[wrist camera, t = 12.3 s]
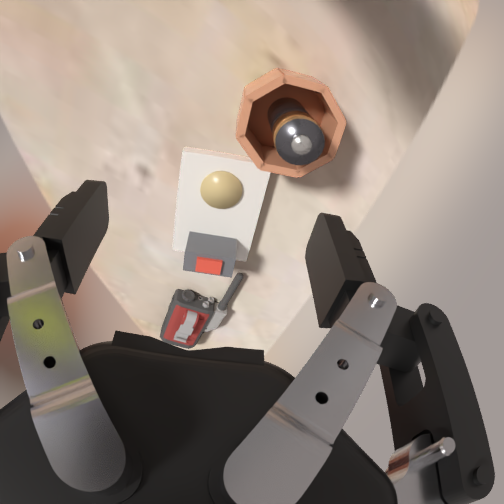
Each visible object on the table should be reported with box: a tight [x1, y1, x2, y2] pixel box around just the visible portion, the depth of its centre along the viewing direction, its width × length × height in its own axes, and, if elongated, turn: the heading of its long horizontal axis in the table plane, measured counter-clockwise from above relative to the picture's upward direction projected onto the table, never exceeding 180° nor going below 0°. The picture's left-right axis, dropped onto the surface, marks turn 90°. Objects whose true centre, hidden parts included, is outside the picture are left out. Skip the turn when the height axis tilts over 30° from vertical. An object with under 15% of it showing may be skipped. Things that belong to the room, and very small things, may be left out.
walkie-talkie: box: [160, 273, 243, 349], centre depth 49 cm, size 9×4×20 cm
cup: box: [236, 68, 346, 178], centre depth 29 cm, size 10×10×6 cm
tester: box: [172, 147, 271, 277], centre depth 37 cm, size 14×10×6 cm
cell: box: [267, 97, 325, 165], centre depth 27 cm, size 4×4×10 cm
